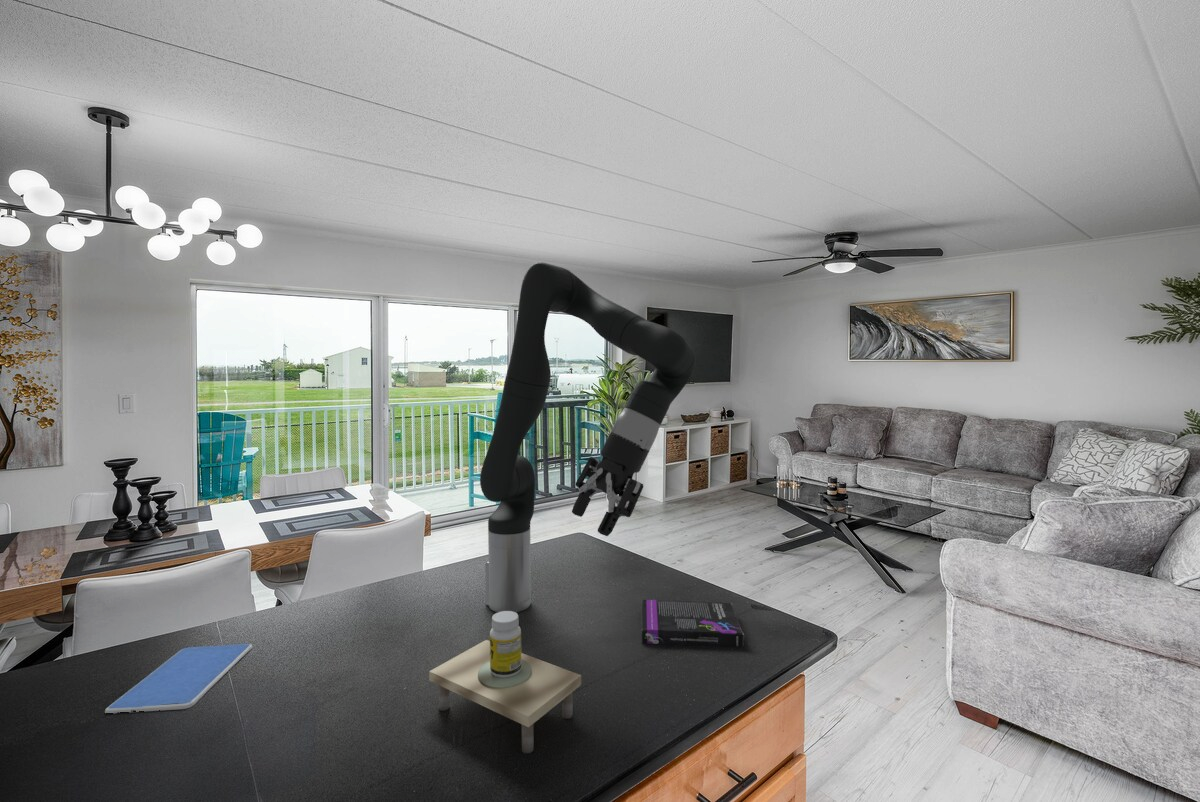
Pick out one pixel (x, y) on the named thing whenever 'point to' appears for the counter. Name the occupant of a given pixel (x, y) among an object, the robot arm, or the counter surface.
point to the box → (690, 623)
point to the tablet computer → (181, 679)
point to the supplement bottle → (505, 644)
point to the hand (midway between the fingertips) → (589, 524)
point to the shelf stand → (507, 687)
